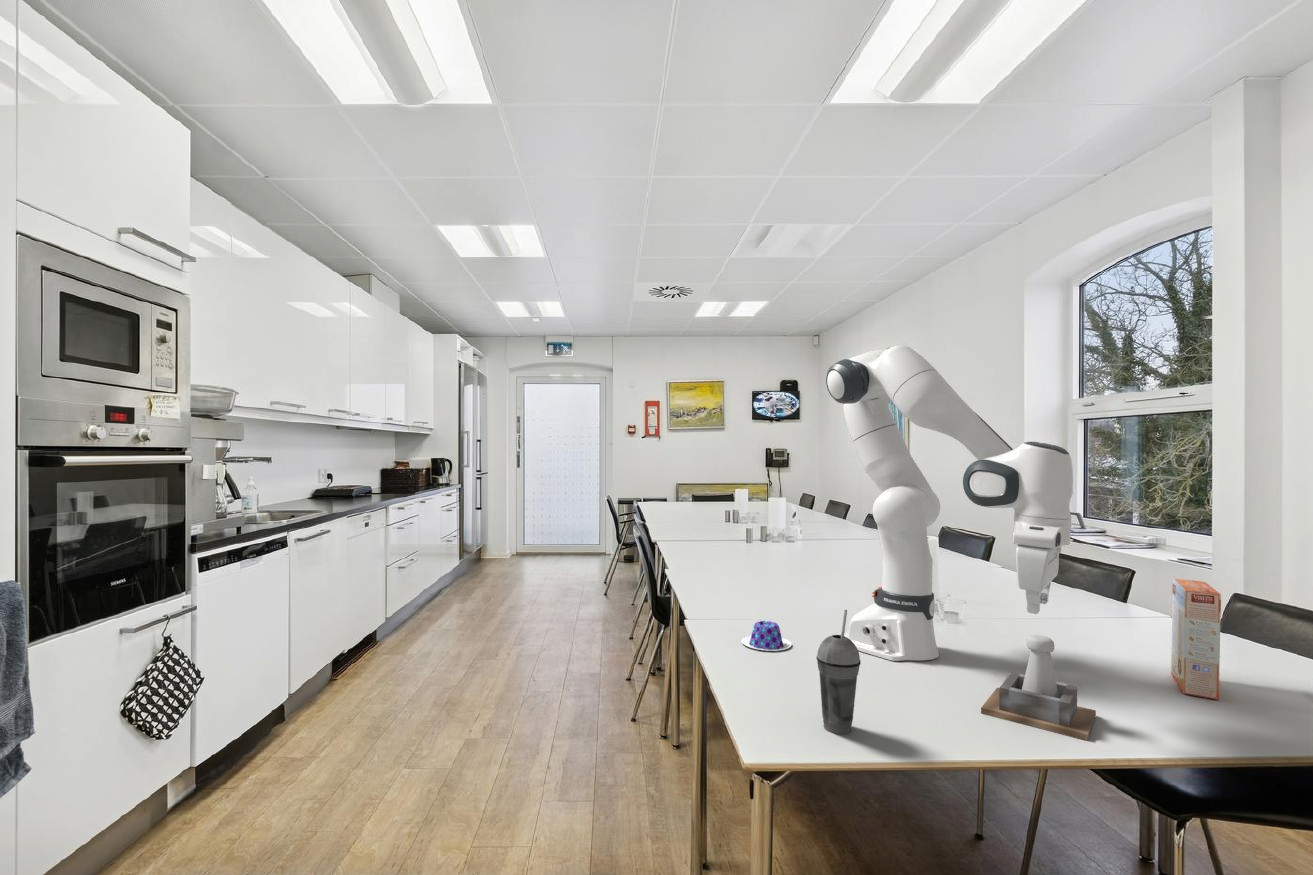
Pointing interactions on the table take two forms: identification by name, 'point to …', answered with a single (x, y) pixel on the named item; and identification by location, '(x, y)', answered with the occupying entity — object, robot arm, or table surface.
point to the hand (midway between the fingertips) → (1037, 607)
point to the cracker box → (1196, 638)
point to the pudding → (766, 637)
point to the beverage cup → (838, 680)
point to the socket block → (1041, 708)
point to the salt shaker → (1040, 667)
